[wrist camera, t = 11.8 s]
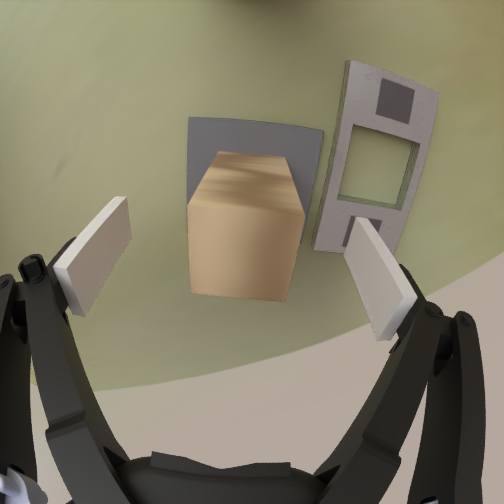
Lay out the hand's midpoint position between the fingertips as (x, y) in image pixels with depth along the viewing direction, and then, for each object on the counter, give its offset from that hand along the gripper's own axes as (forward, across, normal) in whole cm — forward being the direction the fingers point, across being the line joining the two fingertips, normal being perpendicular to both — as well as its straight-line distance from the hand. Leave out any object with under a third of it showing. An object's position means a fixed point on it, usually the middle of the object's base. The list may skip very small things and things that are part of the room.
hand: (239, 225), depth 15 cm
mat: (+7, 0, 0) cm, 8 cm away
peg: (+7, 0, 0) cm, 7 cm away
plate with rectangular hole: (+7, +10, +3) cm, 13 cm away
